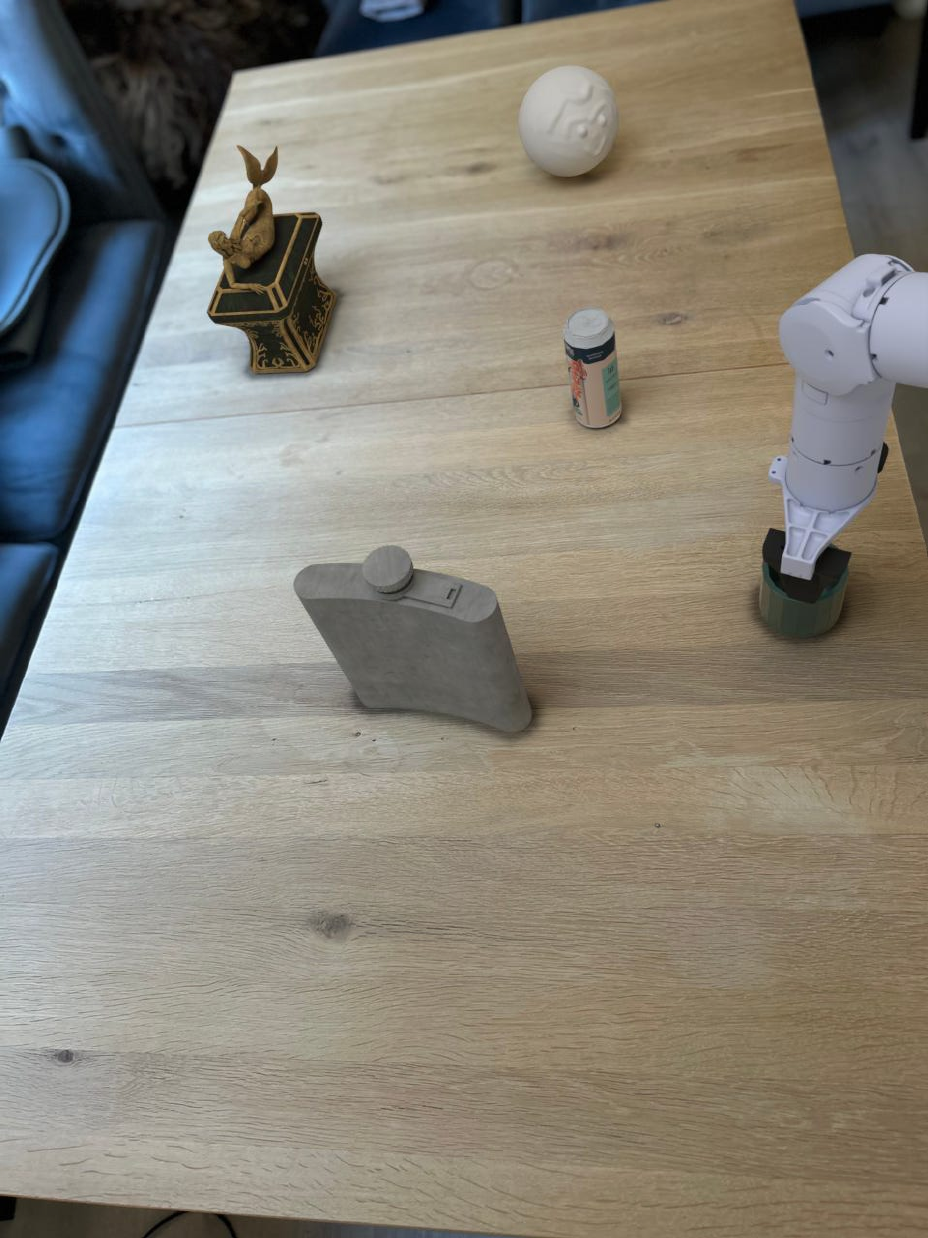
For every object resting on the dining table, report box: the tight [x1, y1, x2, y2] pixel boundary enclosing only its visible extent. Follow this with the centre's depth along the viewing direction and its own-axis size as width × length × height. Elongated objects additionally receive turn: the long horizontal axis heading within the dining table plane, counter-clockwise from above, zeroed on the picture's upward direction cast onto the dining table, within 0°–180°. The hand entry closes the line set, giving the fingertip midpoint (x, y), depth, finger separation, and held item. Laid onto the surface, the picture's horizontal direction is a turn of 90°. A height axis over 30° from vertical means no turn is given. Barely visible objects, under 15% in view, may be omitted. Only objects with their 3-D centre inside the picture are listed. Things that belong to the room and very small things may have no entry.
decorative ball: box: [518, 64, 620, 178], centre depth 119 cm, size 12×12×12 cm
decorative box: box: [206, 144, 338, 374], centre depth 110 cm, size 20×10×20 cm, turn 171°
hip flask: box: [292, 544, 533, 734], centre depth 78 cm, size 16×4×20 cm, turn 73°
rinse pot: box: [758, 542, 850, 639], centre depth 82 cm, size 7×7×6 cm
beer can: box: [562, 306, 623, 429], centre depth 96 cm, size 5×5×12 cm
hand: (817, 557), depth 75 cm, fingers open, 7 cm apart
